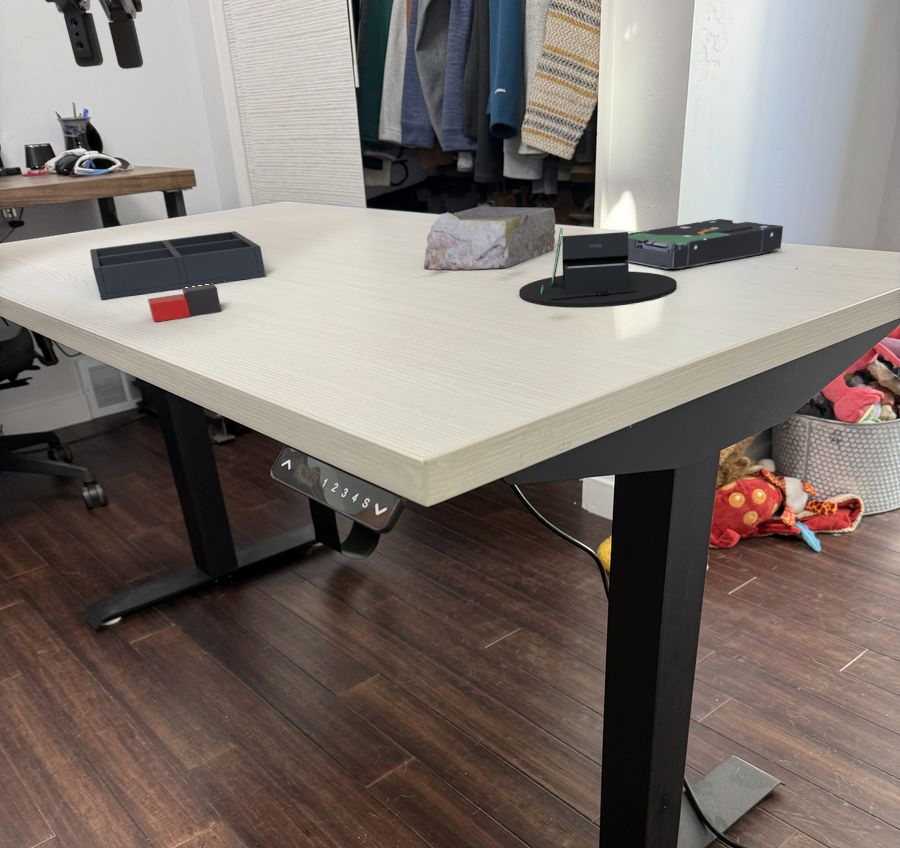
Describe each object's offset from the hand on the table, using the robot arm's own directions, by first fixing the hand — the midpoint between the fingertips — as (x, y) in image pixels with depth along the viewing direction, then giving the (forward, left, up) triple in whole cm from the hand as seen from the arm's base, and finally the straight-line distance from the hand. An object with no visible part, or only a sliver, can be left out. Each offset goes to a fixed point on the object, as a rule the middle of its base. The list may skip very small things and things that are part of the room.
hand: (112, 67), depth 77 cm
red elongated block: (+2, 0, -22) cm, 22 cm away
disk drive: (+56, -11, -22) cm, 61 cm away
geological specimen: (+39, +6, -22) cm, 45 cm away
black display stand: (+39, -19, -22) cm, 49 cm away
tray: (+3, +26, -22) cm, 34 cm away
